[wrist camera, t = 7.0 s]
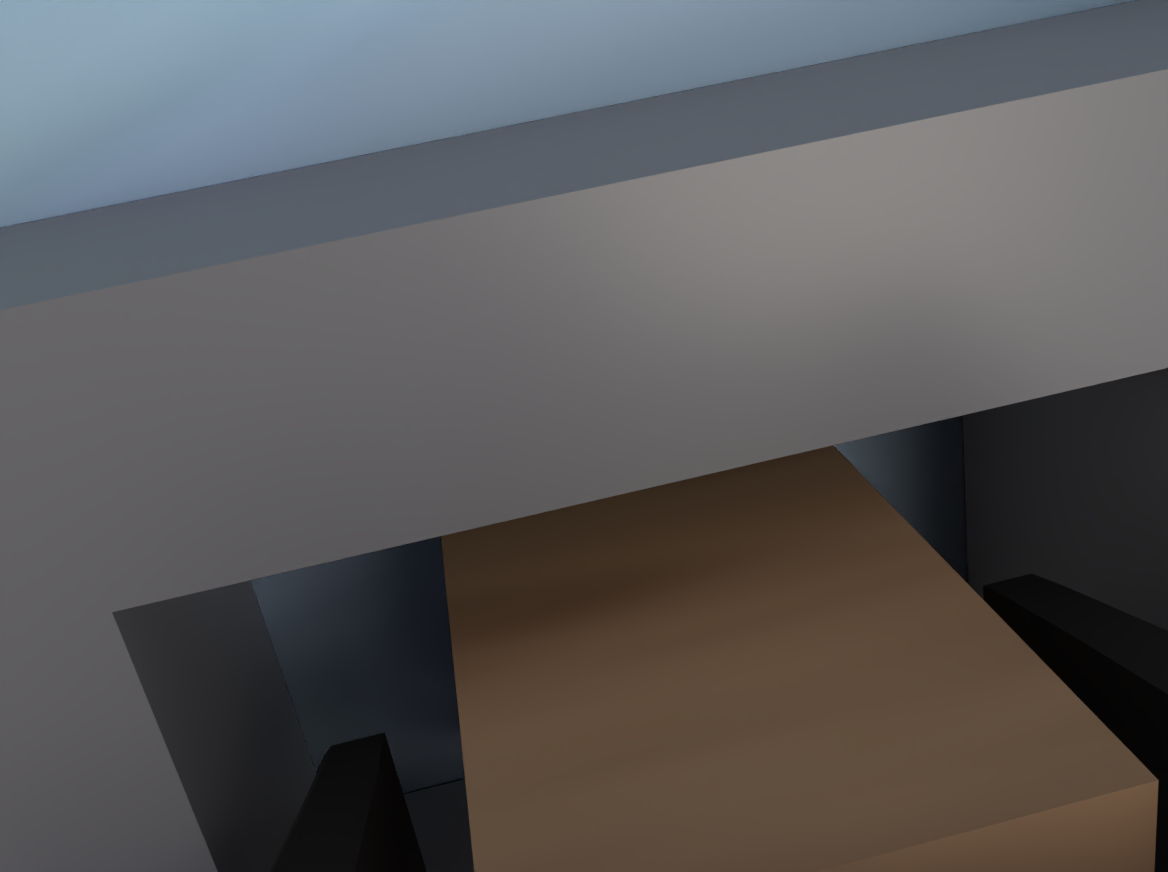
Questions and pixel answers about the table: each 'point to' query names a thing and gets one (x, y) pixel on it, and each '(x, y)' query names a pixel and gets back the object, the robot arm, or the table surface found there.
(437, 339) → the well block
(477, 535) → the walnut block
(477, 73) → the table surface
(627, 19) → the table surface
